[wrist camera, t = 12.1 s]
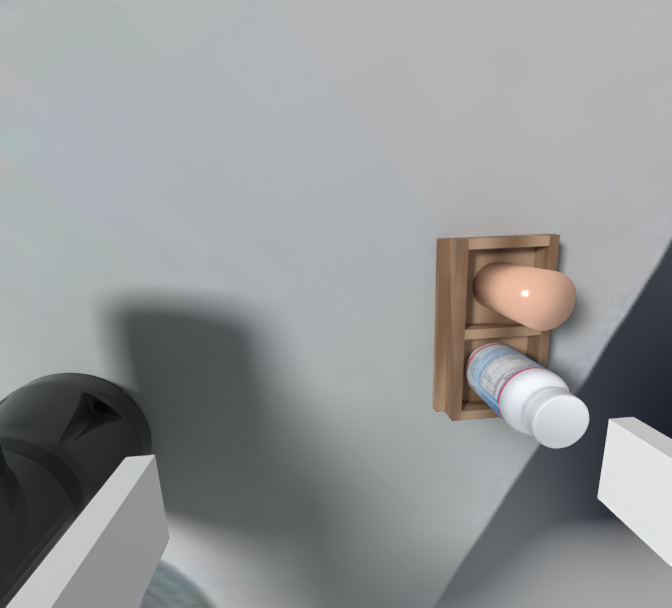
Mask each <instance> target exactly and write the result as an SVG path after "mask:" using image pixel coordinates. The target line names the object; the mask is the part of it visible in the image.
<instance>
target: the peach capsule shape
mask: <svg viewBox="0 0 672 608" xmlns="http://www.w3.org/2000/svg"><path fill="white" fill-rule="evenodd" d="M472 291H473V295H474V298H475V299H476V301H477V302H478V303H479V304H480V305H481V306H483V307H485V308H488V309H490V310H492V311H494V312H496V313H499V314H501V315H503V316H505V317H507V318H510V319H512V320H514V321H516V322H518V323H521V324H523V325H525V326H527V327H529V328H532V329H534V330H538V331H547V330H551V329H554V328H556V327H558V326H560V325H561V324H563V323H564V322H565V321H566V320H567V319H568V318H569V316H570V315H571V313H572V311H573V309H574V307H575V303H576V290H575V287H574V284H573V282H572V281H571V280H570V278H568V277H567V276H566V275H565V274H563V273H560V272H557V271H551V270H546V269H540V268H534V267H529V266H523V265H517V264H512V263H506V262H500V261H497V262H491V263H489V264H487V265H485V266H483V267H482V268H481V269H480V270H479V271H478V272H477V274H476V276H475V278H474V280H473V285H472Z"/></svg>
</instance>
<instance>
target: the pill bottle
mask: <svg viewBox="0 0 672 608" xmlns="http://www.w3.org/2000/svg"><path fill="white" fill-rule="evenodd" d="M465 378H466V381H467V383H468V385H469V386H470V387H471V388H472V389H473V390H474V391H475V392H476V393H477V394H478V395H479V396H480V397H481V398H482V399H483V400H484V401H485V402H486V403H487V404H488V405H489V406H490V407H491V408H492V409H493V410H494V411H495V412H496V413H497V414H498V415H499V416H500V417H501V418H502V419H503V420H504V421H505V422H506V423H507V424H508V425H510V426H511V427H512V428H513V429H515V430H517V431H519V432H521V433H524V434H528V435H531V436H533V437H534V438H535V439H536V440H537V441H539V442H540V443H541V444H543V445H545V446H547V447H550V448H564V447H567V446H569V445H571V444H573V443H575V442H576V441H577V440H579V439H580V438H581V437H582V435H583V434H584V433H585V431H586V429H587V427H588V423H589V413H588V409H587V407H586V405H585V404H584V403H583V402H582V401H581V400H580V399H579V398H577V397H576V396H574V395H573V394H572V393H570V391H569V388H568V386H567V385H566V383H565V382H564V381H563V380H562V379H561V378H560V377H559V376H558V375H556V374H555V373H553V372H551V371H550V370H548V369H546V368H545V367H543V366H541V365H540V364H538V363H536V362H535V361H533V360H531V359H530V358H528V357H526V356H525V355H523V354H521V353H520V352H518V351H516V350H515V349H513V348H511V347H509V346H508V345H505V344H502V343H489V344H486V345H483V346H481V347H479V348H477V349H476V350H475V351H474V352H472V353H471V355H470V356H469V358H468V359H467V362H466V365H465Z"/></svg>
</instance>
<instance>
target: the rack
mask: <svg viewBox="0 0 672 608" xmlns="http://www.w3.org/2000/svg"><path fill="white" fill-rule="evenodd" d="M559 240H560V235H556V234H538V235H514V236H490V237H467V238H443V239H437V261H436V302H435V342H434V383H433V408H434V410H435V411H436V412H440V411H445V412H446V414H447V415H448V416H449V418H450V419H451V420H452V421H456V420H469V419H482V418H495V417H500V416H499V415H498V414H497V413H496V412H495V411H494V410H493V409H492V408H491V407H490V406H489V405H488V404H487V403H486V402H485V401H484V400H483V399H482V398H481V397H480V396H479V395H478V394H477V393H476V392H475V391H474V390H473V389H472V388H471V387H470V386H469V385H468V383H467V381H466V378H465V365H466V362H467V359H468V358H469V356H470V355H471V353H472V352H474V351H475V350H476V349H477V348H479V347H481V346H483V345H486V344H489V343H502V344H505V345H508V346H509V347H511V348H513V349H515V350H516V351H518V352H520V353H521V354H523V355H525V356H526V357H528V358H530V359H531V360H533V361H535V362H536V363H538V364H540V365H541V366H543V367H545V368H546V369H547V359H548V349H549V339H550V330H547V331H538V330H534V329H532V328H529V327H527V326H525V325H523V324H521V323H518V322H516V321H514V320H512V319H510V318H507V317H505V316H503V315H501V314H499V313H496V312H494V311H492V310H490V309H488V308H485V307H483V306H481V305H480V304H479V303H478V302H477V301H476V299H475V298H474V295H473V291H472V285H473V280H474V278H475V276H476V274H477V272H478V271H479V270H480V269H481V268H482V267H483V266H485V265H487V264H489V263H491V262H497V261H500V262H506V263H512V264H517V265H523V266H529V267H534V268H540V269H546V270H551V271H556V270H557V260H558V250H559Z"/></svg>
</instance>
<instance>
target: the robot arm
mask: <svg viewBox="0 0 672 608" xmlns="http://www.w3.org/2000/svg"><path fill="white" fill-rule="evenodd" d="M150 446H151V440H150V432H149V428H148V425H147V422H146V419H145V417H144V415H143V414H142V412H141V410H140V409H139V408H138V406H137V405H136V404H135V402H134V401H133V400H132V399H131V398H130V397H129V396H128V395H126V394H125V393H124V392H123V391H121V390H120V389H119V388H117V387H115V386H114V385H112V384H110V383H108V382H106V381H104V380H101V379H99V378H96V377H92V376H88V375H83V374H75V373H60V374H53V375H48V376H44V377H41V378H38V379H36V380H34V381H32V382H30V383H28V384H26V385H24V386H23V387H21V388H19V389H17V390H16V391H14V392H12V393H11V394H9V395H8V396H6V397H5V398H4V399H3V400H2V401H0V608H138V607H139V605H140V603H141V600H142V598H143V596H144V594H145V591H146V589H147V587H148V585H149V583H150V580H151V578H152V576H153V574H154V572H155V569H156V567H157V565H158V563H159V560H160V558H161V556H162V554H163V552H164V549H165V547H166V545H167V543H168V540H169V533H168V527H167V521H166V515H165V510H164V504H163V498H162V492H161V486H160V481H159V475H158V469H157V463H156V457H155V455H149V453H150ZM598 499H599V500H600V501H602V502H603V503H604V504H605V505H606V506H607V507H608V508H609V509H610V510H611V511H612V512H613V513H614V514H615V515H616V516H617V517H618V518H620V519H621V520H622V521H623V522H624V523H625V524H626V525H627V526H628V527H629V528H630V529H632V531H633V532H635V533H636V534H637V535H638V536H639V537H640V538H641V539H642V540H643V541H644V542H645V543H646V544H647V545H648V546H649V547H650V548H652V549H653V550H654V551H655V552H656V553H657V554H658V555H659V556H660V557H661V558H662V559H663V560H664V561H665V562H666V563H668V564H669V565H670V566H671V567H672V439H670V438H669V437H667V436H665V435H663V434H662V433H660V432H658V431H657V430H655V429H653V428H651V427H650V426H648V425H646V424H645V423H643V422H641V421H640V420H638V419H636V418H634V417H626V418H614V419H609V424H608V431H607V437H606V444H605V452H604V458H603V465H602V471H601V478H600V485H599V491H598Z"/></svg>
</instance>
